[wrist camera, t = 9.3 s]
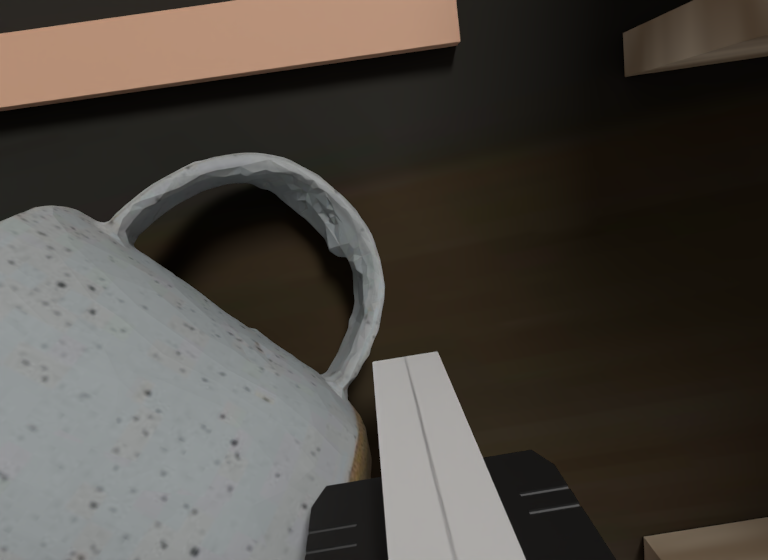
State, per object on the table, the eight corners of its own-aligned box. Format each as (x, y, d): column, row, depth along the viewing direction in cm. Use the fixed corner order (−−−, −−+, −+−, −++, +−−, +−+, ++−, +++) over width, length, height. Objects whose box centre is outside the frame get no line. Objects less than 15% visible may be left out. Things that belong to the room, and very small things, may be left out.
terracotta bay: (-372, 92, 12) (-420, 88, 12) (449, -24, 13) (455, -35, 12) (-95, 732, 17) (-118, 760, 16) (518, 634, 17) (526, 657, 16)
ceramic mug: (242, 569, 16) (144, 939, 8) (-28, 428, 14) (-441, 716, 7) (456, 266, 14) (572, 379, 7) (176, 78, 13) (-63, -40, 5)
